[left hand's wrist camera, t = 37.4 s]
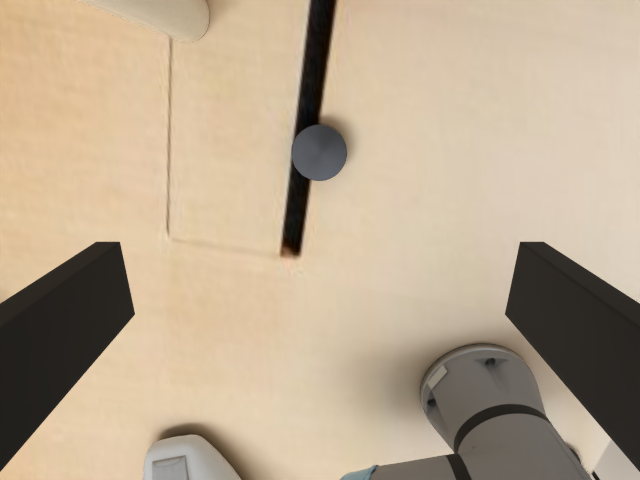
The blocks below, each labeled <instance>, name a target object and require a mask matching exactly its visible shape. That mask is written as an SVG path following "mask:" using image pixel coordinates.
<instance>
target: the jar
mask: <svg viewBox="0 0 640 480" xmlns="http://www.w3.org/2000/svg"><path fill="white" fill-rule="evenodd" d="M76 1H78V2H81V3H83V4H86V5H88V6H91V7H93V8H96V9H98V10H101V11H103V12H106V13H108V14H111V15H113V16H116V17H118V18H121V19H123V20H126V21H128V22H131V23H133V24H136V25H138V26H141V27H143V28H146V29H148V30H151V31H153V32H156V33H158V34H161V35H163V36H166V37H168V38H171V39H173V40H176V41H179V42H182V43H191V42H195V41H197V40H199V39H200V38H201V37H202V36H203V35H204V34H205V32H206V30H207V28H208V25H209V19H210V14H209V8H208V5H207V2H206V0H76Z"/></svg>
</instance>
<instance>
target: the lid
mask: <svg viewBox="0 0 640 480" xmlns="http://www.w3.org/2000/svg"><path fill="white" fill-rule="evenodd" d="M346 156H347V150H346V145H345V142H344V140H343V138H342V136H341V135H340V133H339V132H338V131H337V130H336V129H334V128H333V127H331V126H329V125H326V124H312V125H309V126H307V127H305V128H304V129H303V130H301V131H300V133H299V134H298V135H297V137H296V138H295V140H294V142H293V146H292V160H293V163H294V165H295V167H296V169H297V170H298V171H299V172H300V173H301V174H302V175H303V176H304V177H306V178H308V179H311V180H315V181H323V180H327V179H330V178H332V177H334V176H335V175H337V174H338V173H339V172H340V170H341V169H342V168H343V166H344V164H345V161H346Z"/></svg>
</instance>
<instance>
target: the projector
mask: <svg viewBox="0 0 640 480" xmlns="http://www.w3.org/2000/svg"><path fill="white" fill-rule="evenodd" d="M143 480H241V478H240V477H239V475H238V474H237V473H236V472H235V470H234V469H233V468H232V466H231V465H230V464H229V463H228V462H227V461H226V459H225V458H224V457H223V456H222V455H221V454H220V453H219V452H218V451H217V450H216V449H215V448H214V447H213V446H212V445H211V444H210V443H209V442H208V441H206V440H205V439H204V438H202V437H201V436H198V435H185V436H177V437H171V438H167V439H163V440H159V441H156V442H154V443H153V444H152V445H151V446H150V448H149V450H148V452H147V454H146V458H145V462H144V470H143Z"/></svg>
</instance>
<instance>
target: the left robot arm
mask: <svg viewBox="0 0 640 480" xmlns="http://www.w3.org/2000/svg"><path fill="white" fill-rule="evenodd" d="M134 315H135V312H134V307H133V303H132V298H131V293H130V288H129V284H128V279H127V274H126V269H125V264H124V260H123V255H122V250H121V245H120V242H95V243H94V244H92V245H91V246H89V247H88V248H86V249H85V250H83V251H81V252H80V253H78V254H77V255H75V256H74V257H72V258H71V259H69V260H67V261H66V262H64V263H63V264H61V265H60V266H58V267H57V268H55V269H53V270H52V271H50V272H49V273H47V274H46V275H44V276H43V277H41V278H39V279H38V280H36V281H35V282H33V283H32V284H30V285H29V286H27V287H26V288H24V289H22V290H21V291H19V292H18V293H16V294H15V295H13V296H12V297H10V298H8V299H7V300H5V301H4V302H2V303H1V304H0V471H1V470H2V469H3V468H4V467H5V466H6V464H7V463H8V462H9V461H10V460H11V459H12V457H13V456H14V455H15V454H16V453H17V452H18V450H19V449H20V448H21V447H22V446H23V445H24V443H25V442H26V441H27V440H28V439H29V438H30V436H31V435H32V434H33V433H34V432H35V431H36V429H37V428H38V427H39V426H40V425H41V424H42V422H43V421H44V420H45V419H46V418H47V416H48V415H49V414H50V413H51V412H52V411H53V409H54V408H55V407H56V406H57V405H58V404H59V402H60V401H61V400H62V399H63V398H64V397H65V395H66V394H67V393H68V392H69V391H70V390H71V388H72V387H73V386H74V385H75V384H76V383H77V381H78V380H79V379H80V378H81V377H82V376H83V374H84V373H85V372H86V371H87V370H88V369H89V367H90V366H91V365H92V364H93V363H94V362H95V360H96V359H97V358H98V357H99V356H100V355H101V353H102V352H103V351H104V350H105V349H106V348H107V346H108V345H109V344H110V343H111V342H112V341H113V339H114V338H115V337H116V336H117V335H118V334H119V332H120V331H121V330H122V329H123V328H124V326H125V325H126V324H127V323H128V322H129V321H130V319H131V318H132V317H133V316H134ZM505 315H506V316H507V317H508V318H509V319H510V321H511V322H512V323H513V324H514V325H515V326H516V328H517V329H518V330H519V331H520V332H521V334H522V335H523V336H524V337H525V338H526V339H527V341H528V342H529V343H530V344H531V345H532V346H533V348H534V349H535V350H536V351H537V352H538V353H539V355H540V356H541V357H542V358H543V359H544V360H545V362H546V363H547V364H548V365H549V366H550V367H551V369H552V370H553V371H554V372H555V373H556V374H557V376H558V377H559V378H560V379H561V380H562V381H563V383H564V384H565V385H566V386H567V387H568V388H569V390H570V391H571V392H572V393H573V394H574V395H575V397H576V398H577V399H578V400H579V401H580V402H581V404H582V405H583V406H584V407H585V408H586V409H587V411H588V412H589V413H590V414H591V415H592V416H593V418H594V419H595V420H596V421H597V422H598V424H599V425H600V426H601V427H602V428H603V429H604V431H605V432H606V433H607V434H608V435H609V436H610V438H611V439H612V440H613V441H614V442H615V443H616V445H617V446H618V447H619V448H620V449H621V450H622V452H623V453H624V454H625V455H626V456H627V457H628V459H629V460H630V461H631V462H632V463H633V464H634V466H635V467H636V468H637V469H638V470H639V471H640V304H639V303H638V302H636V301H635V300H633V299H632V298H630V297H628V296H627V295H625V294H624V293H622V292H621V291H619V290H618V289H616V288H614V287H613V286H611V285H610V284H608V283H607V282H605V281H604V280H602V279H601V278H599V277H597V276H596V275H594V274H593V273H591V272H590V271H588V270H587V269H585V268H583V267H582V266H580V265H579V264H577V263H576V262H574V261H573V260H571V259H569V258H568V257H566V256H565V255H563V254H562V253H560V252H559V251H557V250H555V249H554V248H552V247H551V246H549V245H548V244H546V243H545V242H520V245H519V250H518V255H517V260H516V264H515V269H514V274H513V279H512V284H511V288H510V293H509V298H508V303H507V307H506V312H505ZM420 398H421V403H422V406H423V409H424V412H425V414H426V416H427V418H428V420H429V421H430V423H431V424H432V426H433V427H434V428H435V429H436V431H437V432H438V433H439V434H440V435H441V437H442V438H443V439H444V440H445V442H446V443H447V444H448V445H449V447H450V448H451V449H452V450H453V451H454V454H450V455H443V456H437V457H431V458H426V459H420V460H414V461H409V462H403V463H396V464H390V465H383V466H379V465H373V466H372V467H371V468H368V469H364V470H360V471H356V472H351V473H348V474H346V475H344V476H343V477H342V478H341V479H340V480H592V479H591V478H590V476H589V475H588V474H587V472H586V471H585V469H584V468H583V467H582V465H581V462H580V459H579V457H578V455H577V454H576V453H575V451H573V450H572V449H571V448H569V447H568V446H567V445H566V443H565V442H564V441H563V439H562V438H561V436H560V435H559V434H558V432H557V431H556V429H555V428H554V427H553V425H552V424H551V422H550V421H549V420H548V418H547V417H546V414H545V411H544V407H543V403H542V400H541V396H540V393H539V389H538V386H537V382H536V380H535V377H534V375H533V374H532V372H531V370H530V369H529V367H528V366H527V364H526V363H525V362H524V361H523V359H522V358H521V357H520V356H519V355H517V354H516V353H515V352H513V351H511V350H509V349H507V348H505V347H502V346H498V345H493V344H474V345H468V346H464V347H461V348H458V349H455V350H453V351H451V352H449V353H447V354H445V355H444V356H442V357H441V358H440V359H438V360H437V361H436V362H435V363H434V364H433V365H432V366H431V367H430V368H429V370H428V371H427V373H426V374H425V376H424V378H423V380H422V384H421V388H420ZM591 474H592V476H593V477H594V479H595V480H600V479H599V477H598V476H597V474H596V473H595V471H594V470H593V472H592V473H591Z"/></svg>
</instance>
